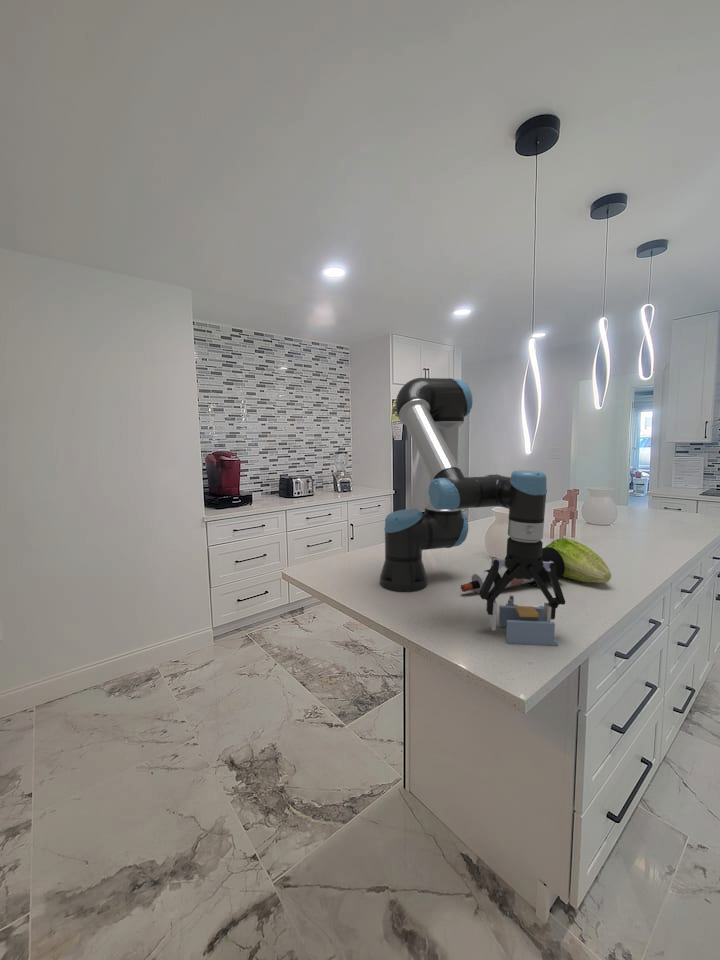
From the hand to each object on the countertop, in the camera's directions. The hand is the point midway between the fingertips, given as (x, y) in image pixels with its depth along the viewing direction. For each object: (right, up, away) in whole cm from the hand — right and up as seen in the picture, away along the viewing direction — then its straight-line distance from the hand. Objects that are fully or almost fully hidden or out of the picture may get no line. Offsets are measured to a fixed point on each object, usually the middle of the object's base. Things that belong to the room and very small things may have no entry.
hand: (519, 629), depth 95 cm
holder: (+1, -1, 0) cm, 2 cm away
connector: (+1, -1, -1) cm, 2 cm away
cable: (+9, +1, +30) cm, 31 cm away
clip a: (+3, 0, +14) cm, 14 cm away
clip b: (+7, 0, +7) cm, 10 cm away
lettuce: (+33, +3, +37) cm, 50 cm away
